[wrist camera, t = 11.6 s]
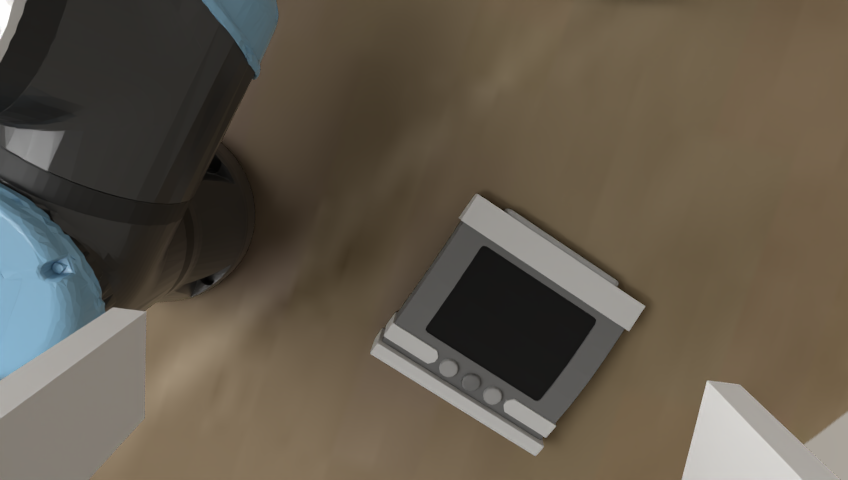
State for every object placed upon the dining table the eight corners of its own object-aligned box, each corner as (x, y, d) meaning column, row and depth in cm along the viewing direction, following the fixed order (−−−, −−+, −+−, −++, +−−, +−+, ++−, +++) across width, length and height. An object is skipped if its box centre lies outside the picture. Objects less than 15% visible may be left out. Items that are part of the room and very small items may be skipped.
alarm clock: (369, 353, 50) (481, 197, 46) (377, 329, 55) (480, 185, 50) (535, 456, 52) (658, 316, 48) (530, 424, 57) (642, 293, 52)
